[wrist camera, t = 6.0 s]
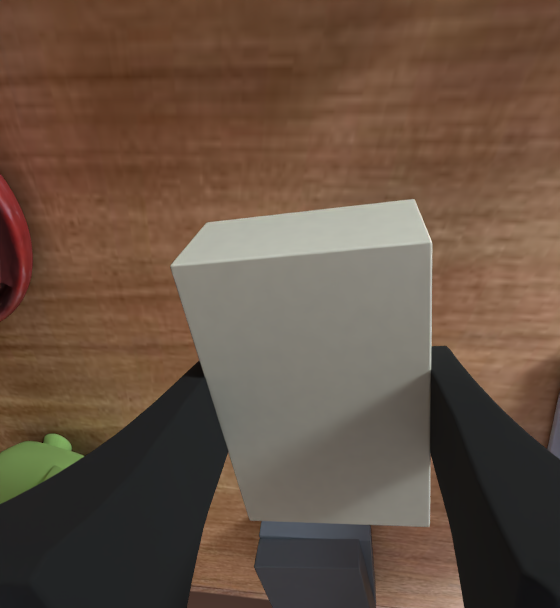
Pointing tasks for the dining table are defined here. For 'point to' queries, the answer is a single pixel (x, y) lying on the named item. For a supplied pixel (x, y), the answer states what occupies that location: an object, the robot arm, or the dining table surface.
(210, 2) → the dining table surface
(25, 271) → the flower pot
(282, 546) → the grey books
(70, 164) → the dining table surface
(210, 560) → the dining table surface
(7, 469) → the teapot
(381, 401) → the white book
